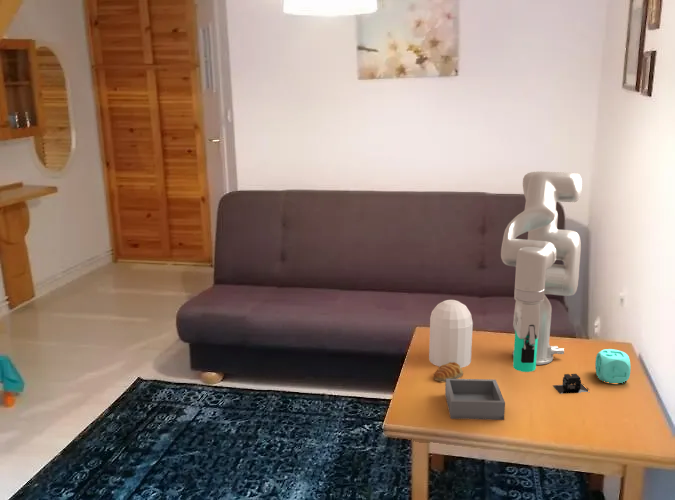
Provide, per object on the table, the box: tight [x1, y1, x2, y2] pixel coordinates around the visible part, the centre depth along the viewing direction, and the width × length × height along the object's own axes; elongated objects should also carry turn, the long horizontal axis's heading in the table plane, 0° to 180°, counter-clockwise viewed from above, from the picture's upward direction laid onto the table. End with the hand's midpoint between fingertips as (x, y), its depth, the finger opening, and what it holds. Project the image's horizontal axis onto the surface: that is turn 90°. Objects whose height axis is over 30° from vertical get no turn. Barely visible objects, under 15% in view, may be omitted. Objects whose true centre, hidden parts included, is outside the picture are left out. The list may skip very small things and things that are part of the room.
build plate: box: [552, 373, 589, 395], centre depth 193 cm, size 12×7×5 cm, turn 95°
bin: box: [444, 378, 506, 421], centre depth 182 cm, size 14×14×5 cm
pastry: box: [433, 362, 464, 383], centre depth 201 cm, size 9×7×4 cm
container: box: [428, 299, 474, 369], centre depth 212 cm, size 14×13×20 cm
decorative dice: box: [594, 348, 632, 384], centre depth 199 cm, size 8×8×8 cm
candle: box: [512, 330, 538, 373], centre depth 179 cm, size 6×6×12 cm
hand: (524, 357), depth 179 cm, fingers closed on candle, 4 cm apart
